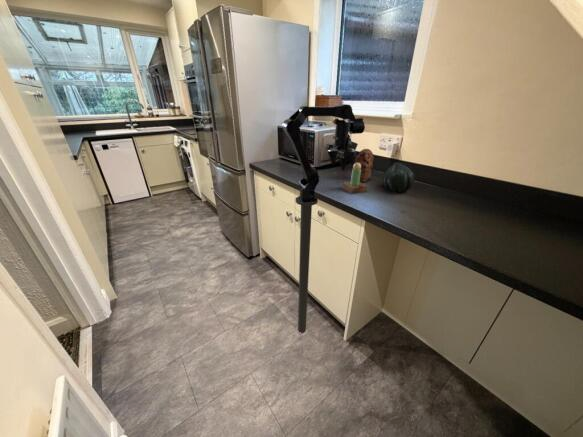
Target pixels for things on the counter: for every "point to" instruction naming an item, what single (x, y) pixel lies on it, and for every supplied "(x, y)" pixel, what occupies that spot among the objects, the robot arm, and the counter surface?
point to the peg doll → (356, 174)
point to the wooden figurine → (365, 164)
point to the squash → (398, 178)
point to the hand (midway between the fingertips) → (338, 167)
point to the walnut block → (354, 187)
